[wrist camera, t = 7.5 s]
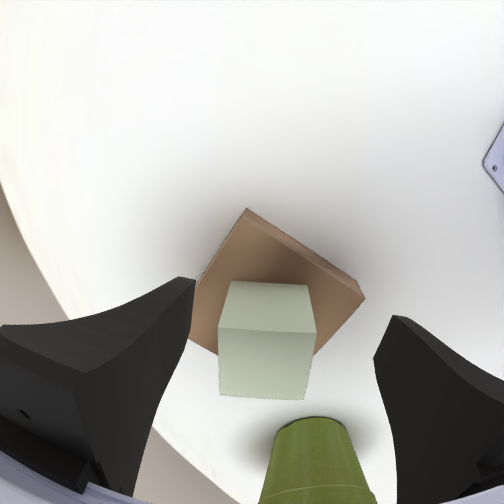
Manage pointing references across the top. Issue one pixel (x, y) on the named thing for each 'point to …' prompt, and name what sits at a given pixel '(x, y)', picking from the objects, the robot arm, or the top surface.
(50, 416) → the robot arm
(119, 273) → the top surface
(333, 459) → the plant pot
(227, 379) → the sage block
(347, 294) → the brown square block
